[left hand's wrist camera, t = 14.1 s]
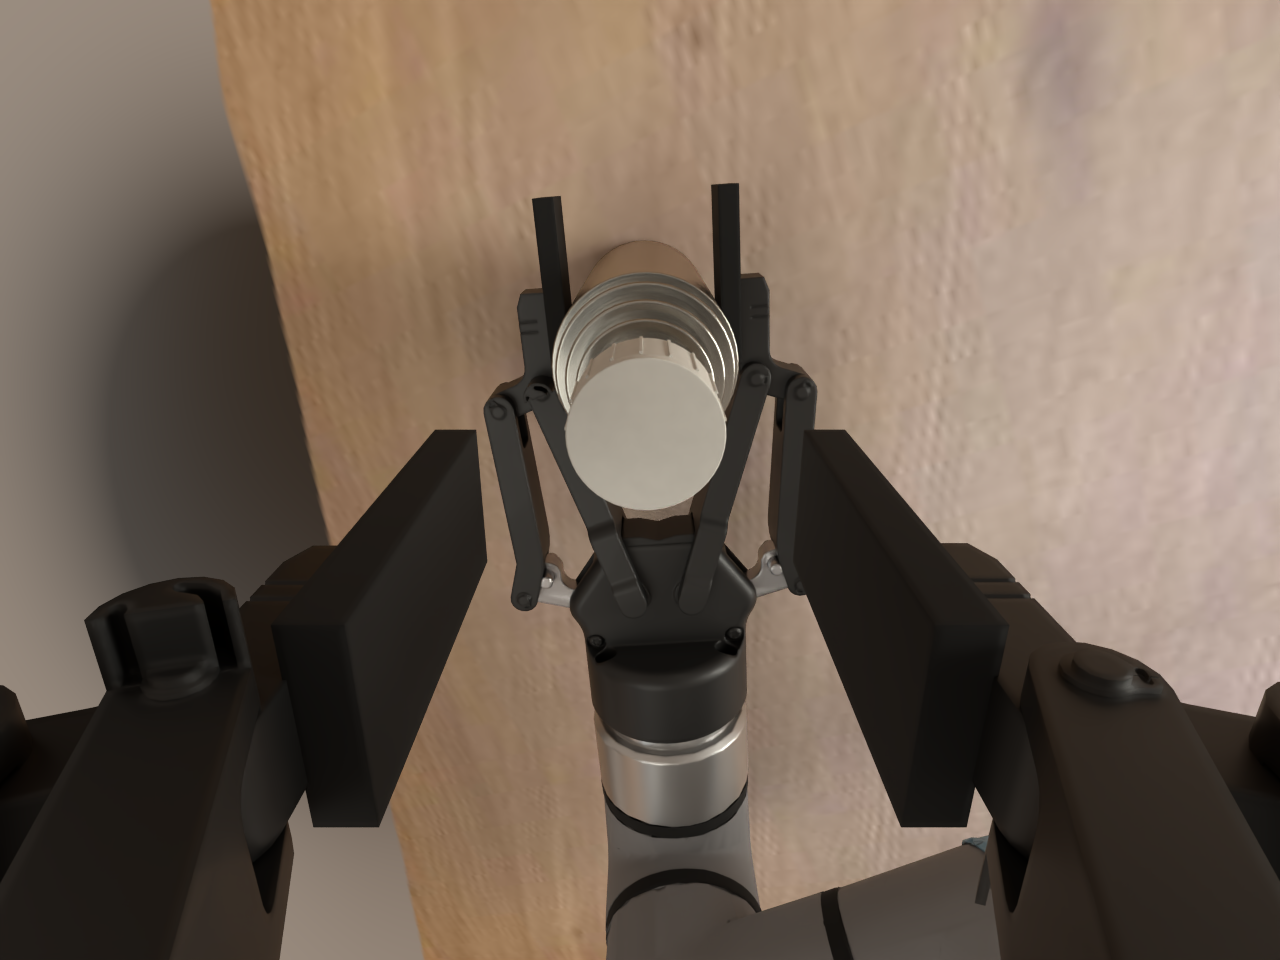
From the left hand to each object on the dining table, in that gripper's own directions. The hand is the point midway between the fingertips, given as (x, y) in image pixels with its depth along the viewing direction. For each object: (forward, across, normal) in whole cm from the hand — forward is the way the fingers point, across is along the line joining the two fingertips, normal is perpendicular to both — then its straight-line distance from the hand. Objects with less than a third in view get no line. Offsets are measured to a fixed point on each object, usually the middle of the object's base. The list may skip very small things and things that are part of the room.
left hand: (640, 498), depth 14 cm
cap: (+4, 0, 0) cm, 4 cm away
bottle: (+23, 0, 0) cm, 23 cm away
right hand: (+17, 0, -5) cm, 18 cm away
